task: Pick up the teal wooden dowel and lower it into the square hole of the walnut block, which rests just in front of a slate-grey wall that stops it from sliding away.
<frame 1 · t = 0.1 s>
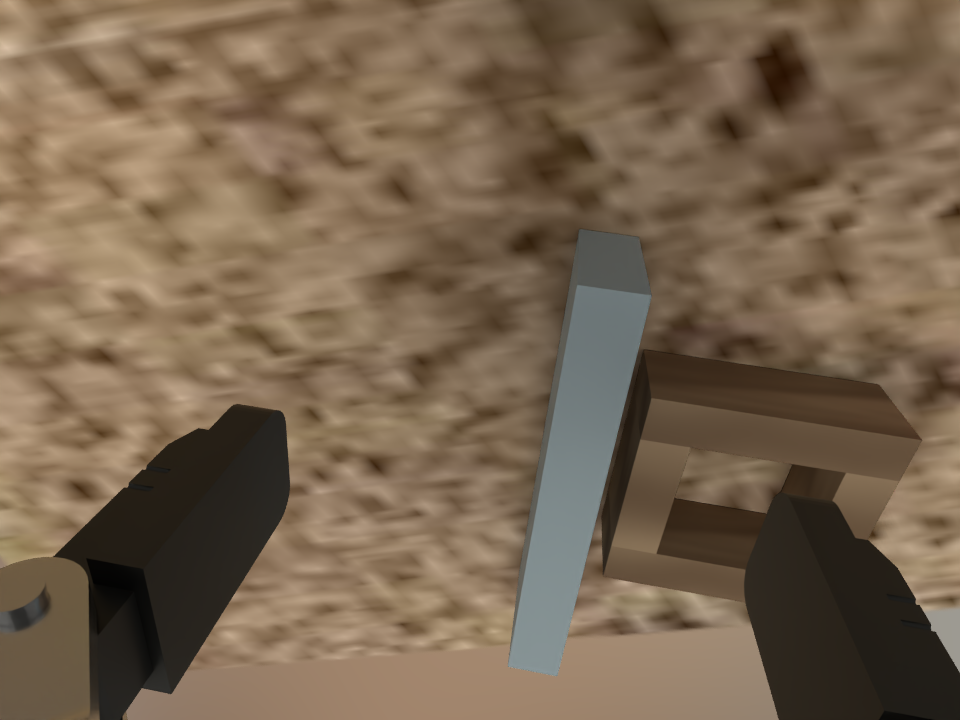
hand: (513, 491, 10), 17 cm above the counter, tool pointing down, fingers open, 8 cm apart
holed block: (726, 457, 30), on the counter
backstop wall: (569, 431, 30), on the counter
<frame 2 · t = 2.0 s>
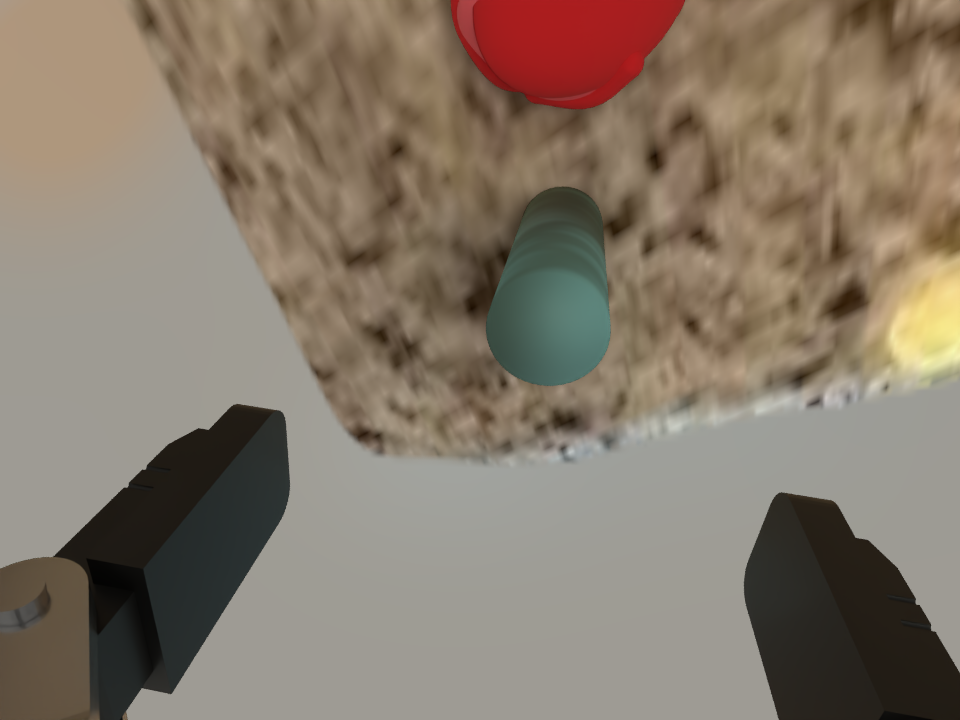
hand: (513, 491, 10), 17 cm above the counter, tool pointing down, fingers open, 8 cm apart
dowel: (561, 227, 25), on the counter
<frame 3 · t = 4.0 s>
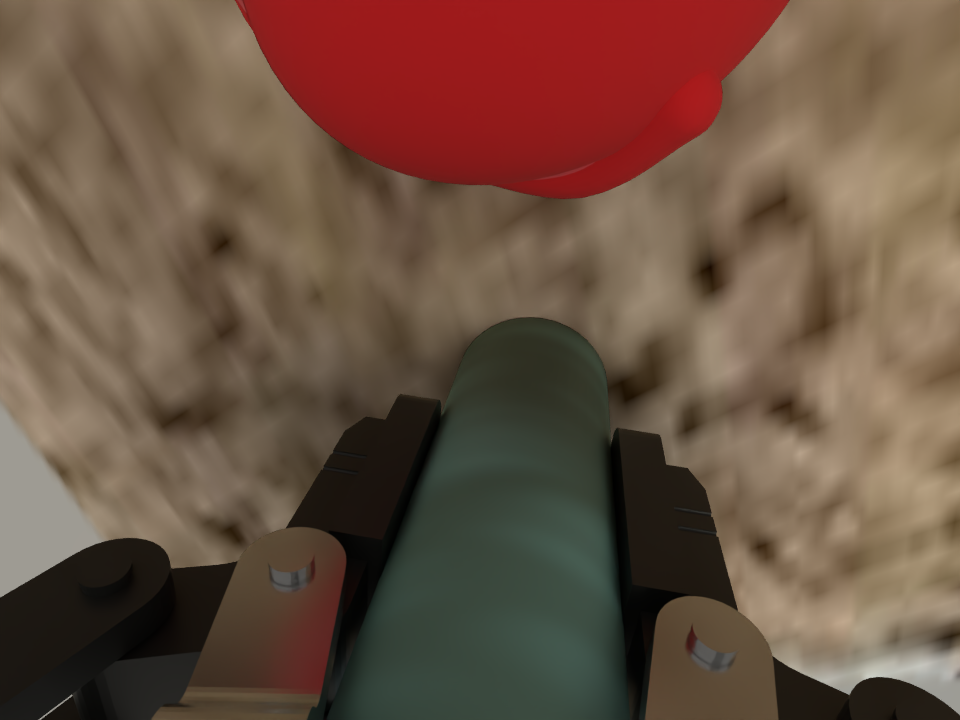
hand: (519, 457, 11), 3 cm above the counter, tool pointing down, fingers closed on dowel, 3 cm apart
dowel: (531, 386, 13), on the counter, touching gripper
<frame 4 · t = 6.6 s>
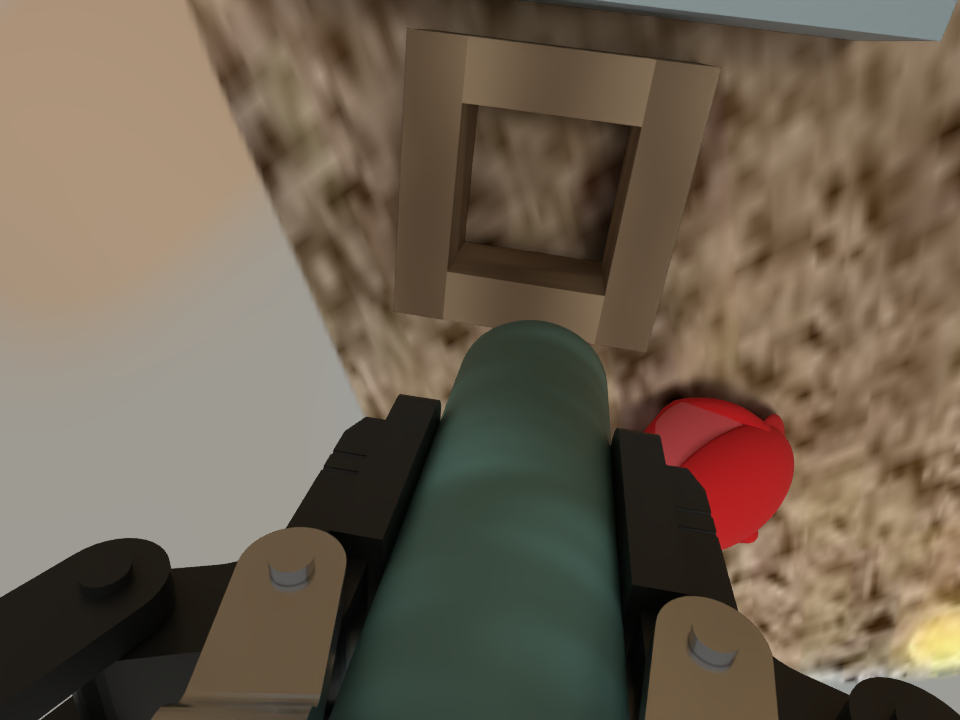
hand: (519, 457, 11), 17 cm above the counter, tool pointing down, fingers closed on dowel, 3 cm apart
holed block: (543, 181, 26), on the counter
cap: (700, 438, 30), on the counter
dowel: (531, 387, 14), point 14 cm above the counter, touching gripper
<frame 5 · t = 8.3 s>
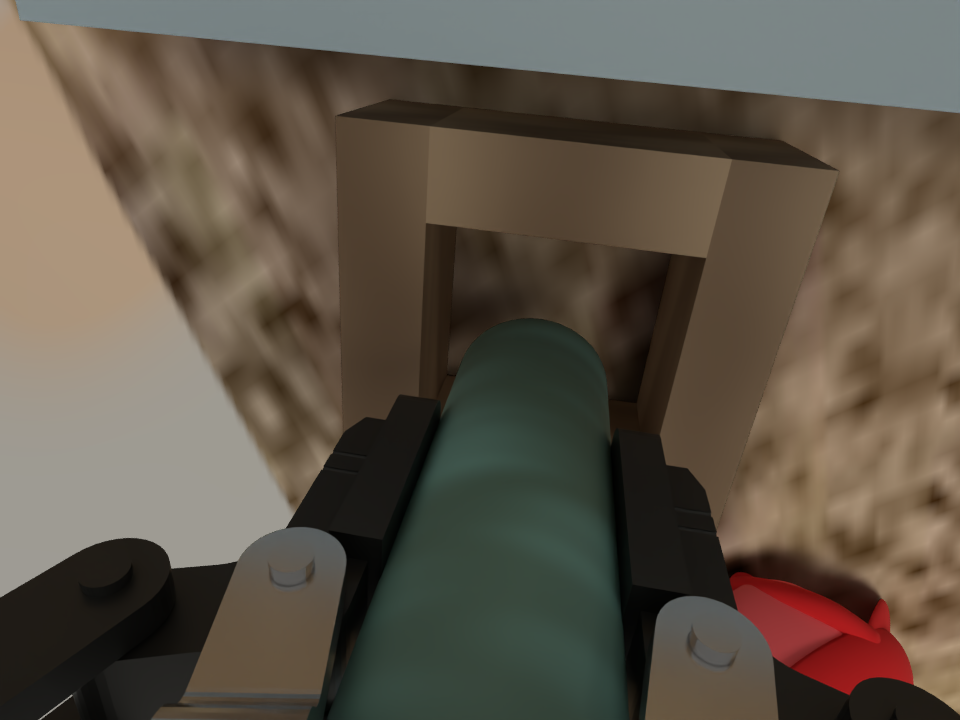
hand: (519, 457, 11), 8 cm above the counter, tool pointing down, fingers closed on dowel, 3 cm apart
holed block: (553, 300, 18), on the counter
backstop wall: (596, 7, 15), on the counter
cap: (769, 613, 23), on the counter
dowel: (531, 386, 13), point 5 cm above the counter, touching gripper
when the fingers open (5 cm above the counter, at t = 9.4 s): dowel drops 3 cm, resting in holed block.
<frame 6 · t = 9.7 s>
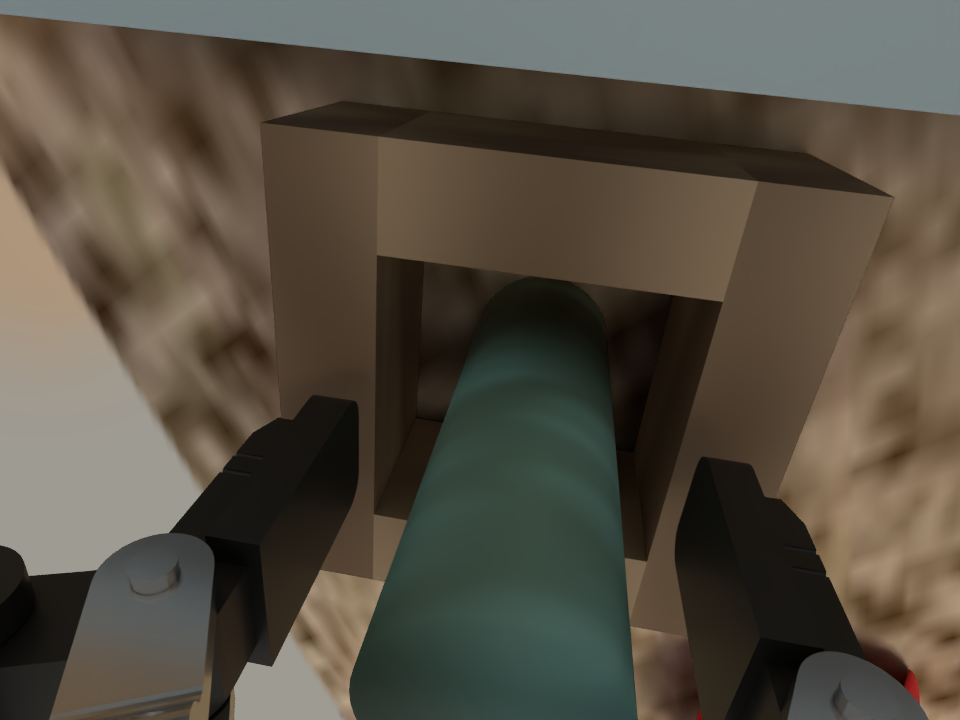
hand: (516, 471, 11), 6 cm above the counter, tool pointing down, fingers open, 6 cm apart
holed block: (537, 336, 16), on the counter
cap: (780, 679, 20), on the counter
dowel: (541, 337, 16), resting in holed block
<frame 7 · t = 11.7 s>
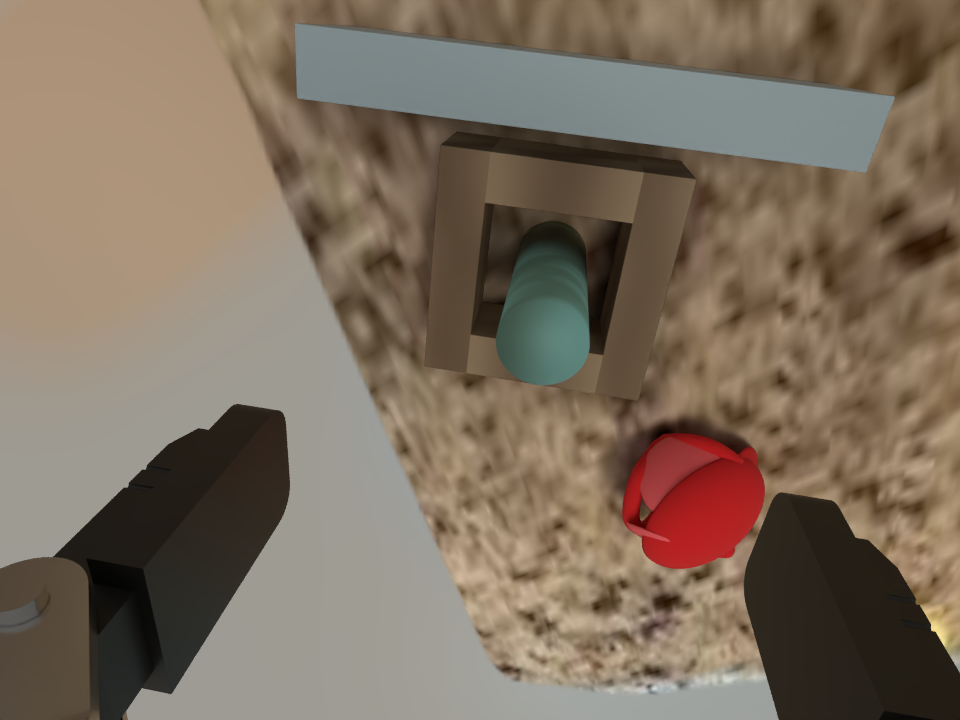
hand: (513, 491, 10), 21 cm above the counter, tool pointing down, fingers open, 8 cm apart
holed block: (550, 253, 30), on the counter
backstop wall: (577, 85, 27), on the counter
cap: (685, 465, 35), on the counter
dowel: (552, 254, 30), resting in holed block
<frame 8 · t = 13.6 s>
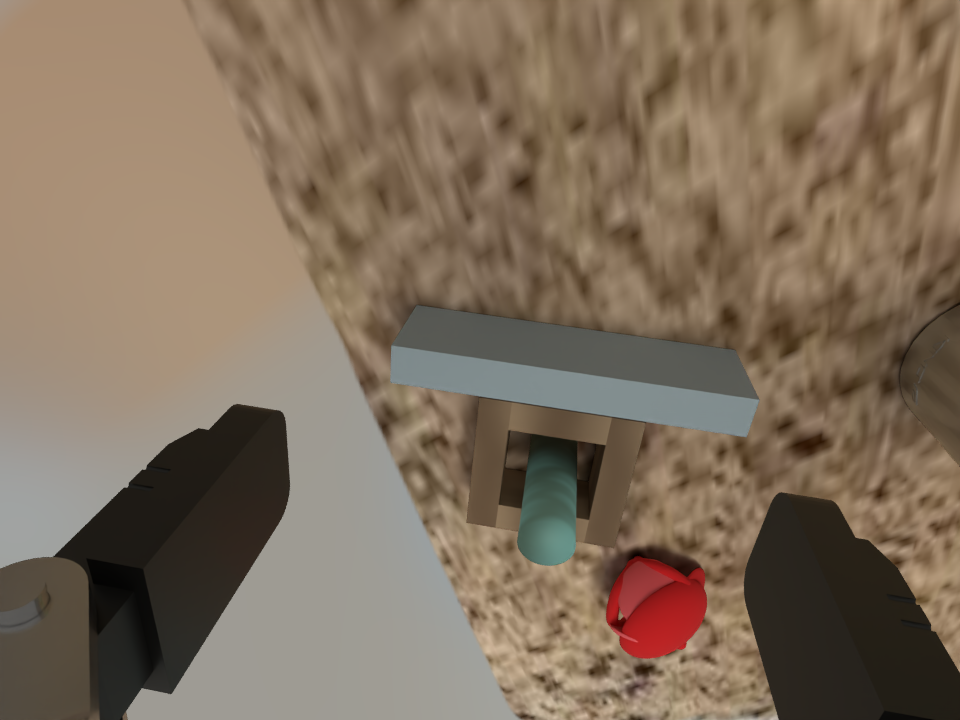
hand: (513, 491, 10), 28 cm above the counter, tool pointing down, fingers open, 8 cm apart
holed block: (552, 440, 43), on the counter
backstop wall: (569, 344, 40), on the counter
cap: (653, 576, 48), on the counter
dowel: (554, 441, 43), resting in holed block
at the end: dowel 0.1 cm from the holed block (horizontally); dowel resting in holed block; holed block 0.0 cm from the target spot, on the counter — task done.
